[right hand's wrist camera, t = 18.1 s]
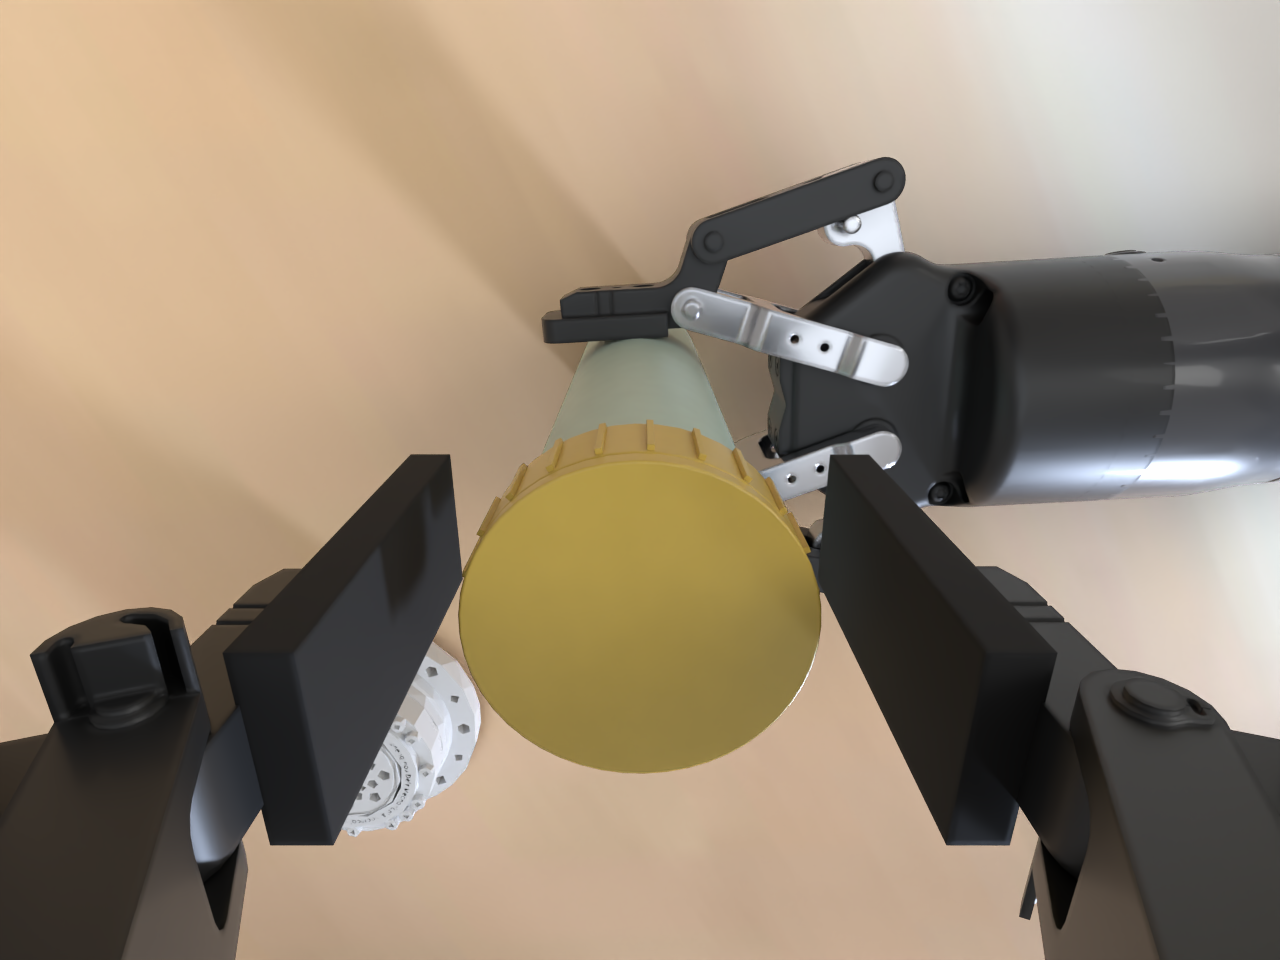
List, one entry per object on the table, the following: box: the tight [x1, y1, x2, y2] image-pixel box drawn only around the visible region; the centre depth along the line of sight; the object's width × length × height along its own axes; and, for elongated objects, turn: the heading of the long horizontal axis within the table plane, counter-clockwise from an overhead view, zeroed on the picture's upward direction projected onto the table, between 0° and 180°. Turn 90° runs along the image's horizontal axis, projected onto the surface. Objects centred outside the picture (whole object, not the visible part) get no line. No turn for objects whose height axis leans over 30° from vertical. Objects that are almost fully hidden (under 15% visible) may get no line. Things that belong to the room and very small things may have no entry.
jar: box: [542, 328, 735, 454], centre depth 20 cm, size 4×4×19 cm
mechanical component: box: [342, 641, 481, 837], centre depth 32 cm, size 10×4×10 cm
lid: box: [458, 419, 821, 774], centre depth 11 cm, size 5×5×2 cm
